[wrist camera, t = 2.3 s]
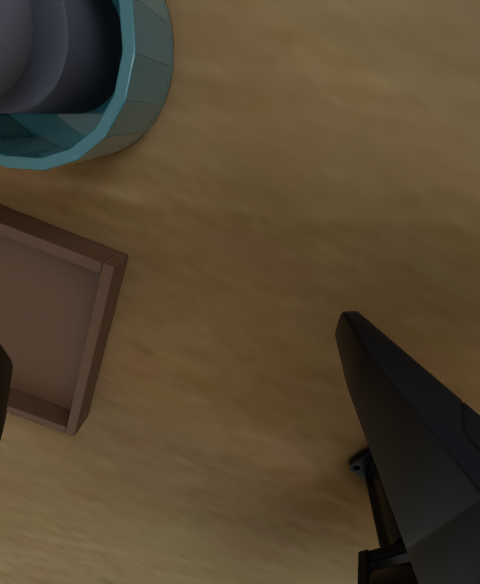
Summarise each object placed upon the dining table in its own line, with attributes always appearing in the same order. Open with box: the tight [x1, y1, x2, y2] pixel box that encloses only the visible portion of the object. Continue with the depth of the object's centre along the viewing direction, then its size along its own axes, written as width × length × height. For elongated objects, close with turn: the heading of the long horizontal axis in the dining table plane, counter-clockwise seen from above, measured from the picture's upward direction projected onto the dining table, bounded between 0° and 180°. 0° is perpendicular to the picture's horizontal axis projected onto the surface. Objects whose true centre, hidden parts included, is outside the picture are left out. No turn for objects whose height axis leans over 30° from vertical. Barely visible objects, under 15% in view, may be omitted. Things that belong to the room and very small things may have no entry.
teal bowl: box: [0, 0, 173, 171], centre depth 15 cm, size 10×10×5 cm
